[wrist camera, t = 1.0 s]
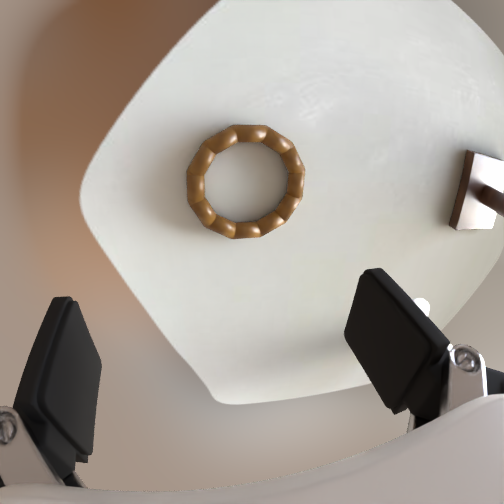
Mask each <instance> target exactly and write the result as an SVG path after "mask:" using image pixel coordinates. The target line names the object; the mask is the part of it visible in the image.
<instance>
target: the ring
mask: <svg viewBox="0 0 504 504" xmlns="http://www.w3.org/2000/svg"><path fill="white" fill-rule="evenodd" d="M237 142H261V143H263V144H264V145H266V146H268V147H269V148H271V149H273V150H274V151H276V152H277V153H279V154H280V156H281V158H282V160H283V162H284V164H285V166H286V168H287V170H288V183H287V193H286V194H285V196H284V197H283V199H282V200H281V202H280V204H279V205H278V207H277V208H276V210H275V211H273V212H271V213H270V214H268V215H266V216H265V217H263V218H261V219H259V220H258V221H255V222H239V223H234V222H232V221H230V220H228V219H226V218H224V217H221V216H219V215H217V214H216V213H215V212H214V210H213V209H212V207H211V206H210V204H209V203H208V201H207V199H206V198H205V185H204V175H205V173H206V171H207V170H208V168H209V166H210V164H211V163H212V161H213V159H214V158H215V156H216V154H218V153H220V152H222V151H223V150H225V149H227V148H228V147H230V146H232V145H234V144H235V143H237ZM304 177H305V168H304V165H303V163H302V161H301V159H300V157H299V155H298V153H297V150H296V148H295V146H294V144H293V143H292V142H291V141H290V140H288V139H287V138H285V137H284V136H282V135H281V134H279V133H277V132H276V131H274V130H273V129H271V128H270V127H268V126H265V125H232V126H230V127H228V128H226V129H224V130H223V131H221V132H219V133H217V134H216V135H214V136H212V137H211V138H209V139H207V140H205V141H204V142H203V143H202V144H201V146H200V148H199V150H198V151H197V153H196V155H195V157H194V158H193V160H192V162H191V164H190V166H189V167H188V169H187V197H188V203H189V205H190V207H191V208H192V209H193V211H194V212H195V214H196V215H197V217H198V218H199V220H200V221H201V222H202V224H203V225H204V226H205V227H206V228H208V229H210V230H212V231H214V232H217V233H219V234H221V235H223V236H226V237H228V238H230V239H241V238H255V237H262V236H264V235H265V234H267V233H269V232H270V231H272V230H274V229H276V228H277V227H279V226H281V225H283V224H284V223H286V222H287V220H288V219H289V217H290V216H291V214H292V213H293V211H294V210H295V208H296V207H297V205H298V204H299V202H300V201H301V199H302V196H303V187H304Z"/></svg>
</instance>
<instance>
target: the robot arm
mask: <svg viewBox="0 0 504 504" xmlns="http://www.w3.org/2000/svg"><path fill="white" fill-rule="evenodd" d="M344 337H345V340H346V341H347V343H348V345H349V346H350V348H351V349H352V351H353V353H354V354H355V356H356V358H357V359H358V361H359V363H360V364H361V366H362V367H363V369H364V371H365V372H366V374H367V376H368V377H369V379H370V381H371V382H372V384H373V385H374V387H375V389H376V391H377V392H378V394H379V396H380V397H381V399H382V401H383V402H384V404H385V406H386V407H387V408H389V409H391V410H392V412H393V413H394V415H395V414H397V413H400V412H402V411H404V410H406V409H407V408H408V409H409V410H410V418H409V423H408V428H407V433H406V434H404V435H402V436H400V437H398V438H395V439H393V440H391V441H389V442H386V443H384V444H382V445H379V446H377V447H374V448H372V449H369V450H367V451H364V452H362V453H359V454H357V455H354V456H351V457H348V458H345V459H342V460H339V461H336V462H333V463H330V464H327V465H324V466H320V467H317V468H314V469H310V470H307V471H303V472H299V473H295V474H291V475H287V476H283V477H279V478H274V479H269V480H264V481H259V482H253V483H247V484H241V485H235V486H227V487H220V488H211V489H200V490H188V491H164V492H137V491H111V490H97V489H88V488H87V486H86V485H85V484H84V483H83V481H82V480H81V479H80V477H79V476H78V475H77V473H76V472H75V462H83V463H88V455H91V454H92V452H93V439H94V425H95V415H96V405H97V398H98V390H99V389H98V388H99V382H100V375H101V368H102V364H101V359H100V357H99V354H98V352H97V350H96V348H95V345H94V343H93V340H92V338H91V336H90V333H89V331H88V328H87V326H86V323H85V321H84V318H83V315H82V313H81V310H80V308H79V304H78V302H77V301H73V300H72V298H71V297H55V298H53V300H52V302H51V304H50V306H49V308H48V311H47V313H46V315H45V317H44V320H43V322H42V325H41V327H40V329H39V332H38V334H37V337H36V339H35V342H34V344H33V347H32V349H31V352H30V355H29V357H28V360H27V363H26V366H25V369H24V372H23V375H22V378H21V381H20V384H19V387H18V390H17V394H16V397H15V401H14V404H13V408H11V407H8V406H0V504H504V373H503V372H500V371H497V370H493V369H490V368H487V367H485V366H484V361H483V358H482V357H481V355H480V353H478V351H477V350H475V349H474V348H472V347H471V346H468V345H464V344H458V345H455V346H454V347H452V349H451V350H450V351H449V350H448V349H447V347H448V346H449V344H450V341H449V340H448V339H447V338H446V337H445V336H444V334H443V333H442V332H441V331H440V330H439V329H438V328H437V326H436V325H435V324H434V323H433V322H432V321H431V320H430V319H429V318H428V316H427V315H426V314H425V313H424V312H423V311H422V310H421V309H420V308H419V307H418V305H417V304H416V303H415V302H414V301H413V300H412V299H411V298H410V297H409V296H408V295H407V294H406V293H405V292H404V291H403V290H402V288H401V287H400V286H399V285H398V284H397V283H396V282H395V281H394V280H393V279H392V278H391V277H390V276H389V275H388V274H387V273H386V272H385V271H384V270H383V269H381V268H375V269H367V270H365V271H364V273H363V274H362V275H361V276H360V278H359V282H358V285H357V289H356V293H355V296H354V300H353V303H352V307H351V310H350V314H349V317H348V320H347V324H346V327H345V330H344Z"/></svg>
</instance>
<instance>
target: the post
mask: <svg viewBox="0 0 504 504" xmlns="http://www.w3.org/2000/svg"><path fill="white" fill-rule="evenodd" d="M503 188H504V161H503V160H500V159H497V158H493V157H490V156H487V155H484V154H480V153H477V152H473V151H470V150H467V152H466V158H465V163H464V168H463V173H462V177H461V182H460V186H459V190H458V194H457V198H456V202H455V206H454V210H453V213H452V217H451V220H450V224H449V226H450V227H452V228H453V229H455V230H465V229H483V228H492V226H493V223H494V220H495V217H496V214H497V213H498V214H500V215H501V216H503V217H504V193H502V192H503Z"/></svg>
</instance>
